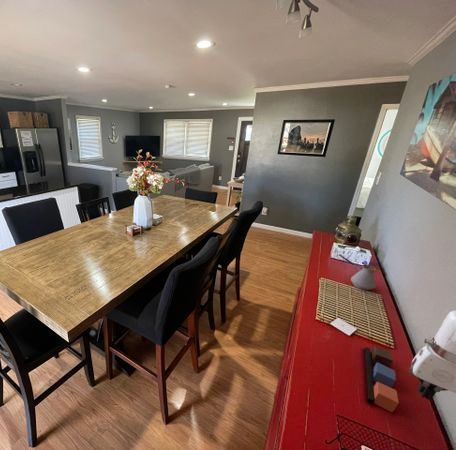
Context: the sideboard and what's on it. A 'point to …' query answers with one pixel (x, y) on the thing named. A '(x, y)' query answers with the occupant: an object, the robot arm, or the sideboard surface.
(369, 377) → the rail
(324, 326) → the sideboard surface
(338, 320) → the coaster
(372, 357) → the walnut block
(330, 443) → the sideboard surface
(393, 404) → the terracotta block
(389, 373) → the slate blue block
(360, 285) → the coffee pot
